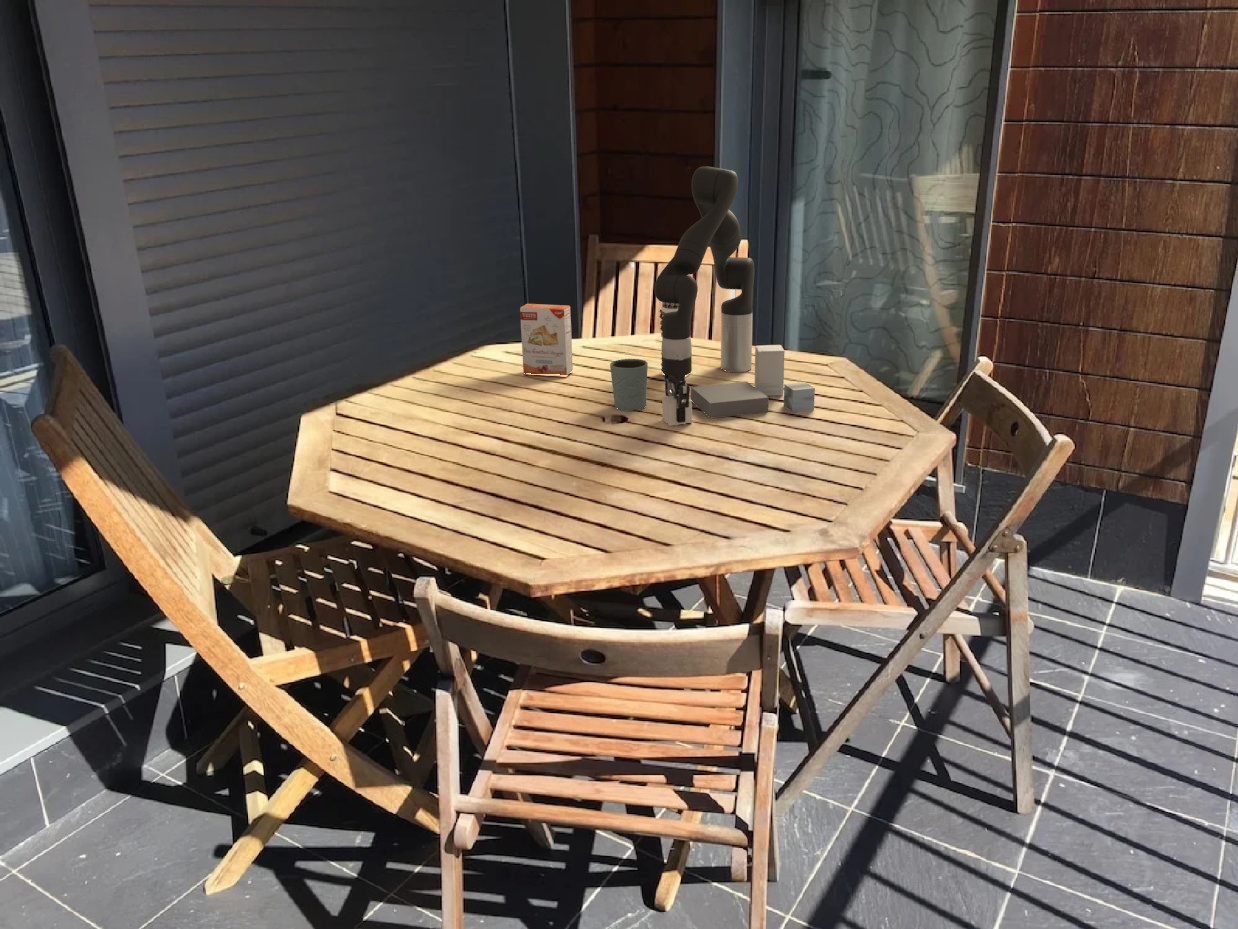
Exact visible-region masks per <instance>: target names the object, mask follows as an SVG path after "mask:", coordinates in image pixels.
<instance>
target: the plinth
mask: <svg viewBox="0 0 1238 929" xmlns="http://www.w3.org/2000/svg"><path fill="white" fill-rule="evenodd" d="M769 398H770V397H769V396H766V395H765V394H763V393H762V392H761V391H759V390H758V389H756V388H755V385H753V384H751V383H750V382H748V381H739V382H738V381H736V382H727V383H715V384H709V385H705V384H704V385H695V386H690V400H692V401H693V402H694V403H693V402H692V403H693V404H694V405H695V406H696V405H697V406H698V407H699V408H700V409H699V408H698V407H697V406H696V407H697V408H698V409H699V410H701V411H702V412H703V411H704V412H705V413H704V412H703V413H704V415H706V414H707V415H706V416H707V417H708V416H709V418H710V419H712V418H711V417H716V418H725V417H733V416H742V415H743V416H744V415H750V414H752V415H753V414H754V415H755V414H761V413H768V412H769V404H770V403H769Z"/></svg>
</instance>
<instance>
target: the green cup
mask: <svg viewBox="0 0 1238 929" xmlns="http://www.w3.org/2000/svg"><path fill="white" fill-rule="evenodd" d="M648 365H649V363H648V361H646V360H644V359H641V358H623V359H616V360H613V361H611V362H610V363H609V367H610V375H611V386H612V393H613V394H612V395H613V402H614V408H615V407H616V408H618V409H622V410H628V411H627V412H634V411H633V410H637V411H639V410H638V409H641V410H643V409H642V408H644V407H645V406H646V407H647V394H648V392H647V391H648V388H647V386H648V367H649V366H648ZM646 407H645V408H646ZM616 408H615V409H616ZM645 408H644V409H645ZM618 409H617V410H618ZM622 410H621V411H622ZM629 410H630V411H629Z"/></svg>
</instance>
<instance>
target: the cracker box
mask: <svg viewBox="0 0 1238 929" xmlns="http://www.w3.org/2000/svg"><path fill="white" fill-rule="evenodd" d="M519 310H520V311H519V312H520V313H519V316H520V332H521V333H520V335H521V352H522V354H521V355H522V368H523V374H524V373H525V374H526V373H531V374H560V375H567V374H569V373H570V372H571V371H572V370H573V369H574V368H573V366H574V365H573V344H572V342H573V341H572V321H571V320H572V319H571V318H572V317H571V316H572V315H571V306H570V305H566V304H565V305H562V304H561V305H560V304H543V303H542V304H540V303H539V304H537V303H526V304H524V305H522V306H520V308H519Z"/></svg>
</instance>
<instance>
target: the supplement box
mask: <svg viewBox="0 0 1238 929" xmlns="http://www.w3.org/2000/svg"><path fill="white" fill-rule="evenodd" d="M754 348H755V352H754V387H755V388H756V389H758V390H759V391H761V392H762V393H763V394H765V395H766V396H767V397H769V396H770V397H771V396H773V397H774V396H784V383H785V382H784V380H785V379H784V378H785V352H786V351H785V349H784V348H783V346H782V344H766V345H762V344H761V345H755V347H754Z"/></svg>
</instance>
